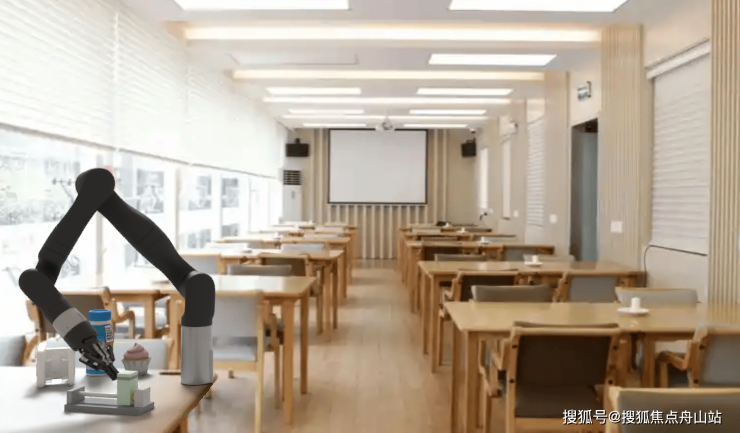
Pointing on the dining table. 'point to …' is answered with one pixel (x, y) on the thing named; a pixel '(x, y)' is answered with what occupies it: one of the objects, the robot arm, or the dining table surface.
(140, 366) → the cupcake
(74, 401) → the grey slide rail
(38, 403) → the dining table surface
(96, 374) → the beverage bottle
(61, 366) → the white plastic stand
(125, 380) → the notched mint block
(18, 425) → the dining table surface
